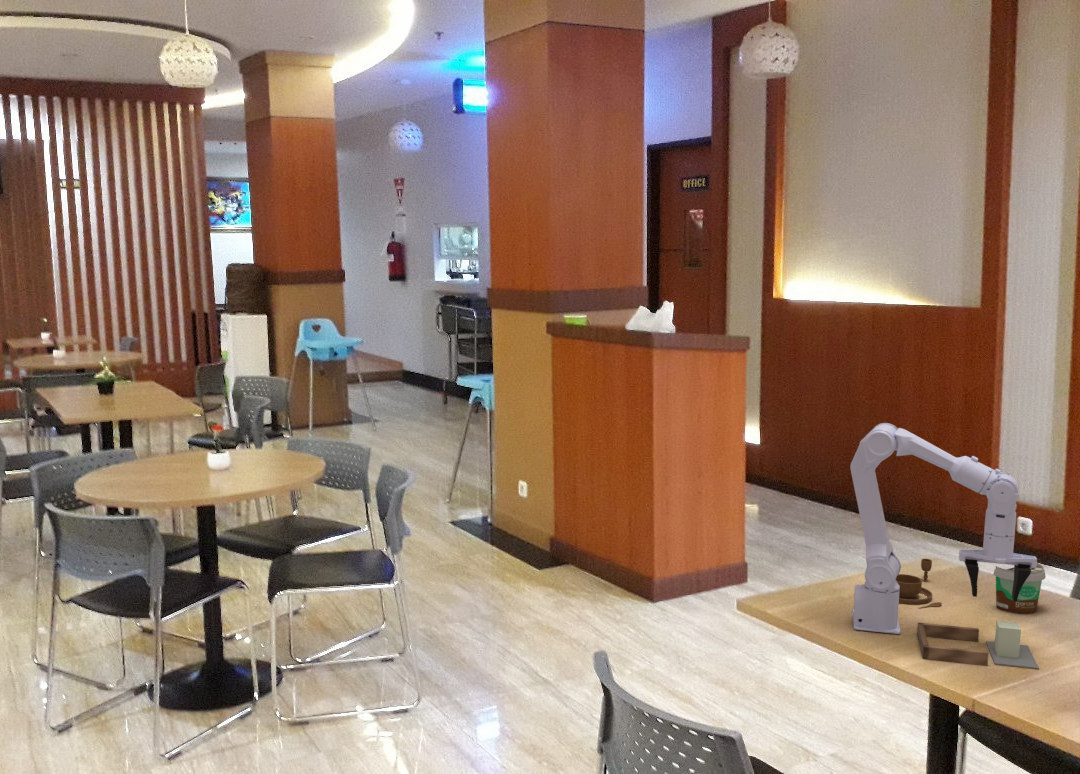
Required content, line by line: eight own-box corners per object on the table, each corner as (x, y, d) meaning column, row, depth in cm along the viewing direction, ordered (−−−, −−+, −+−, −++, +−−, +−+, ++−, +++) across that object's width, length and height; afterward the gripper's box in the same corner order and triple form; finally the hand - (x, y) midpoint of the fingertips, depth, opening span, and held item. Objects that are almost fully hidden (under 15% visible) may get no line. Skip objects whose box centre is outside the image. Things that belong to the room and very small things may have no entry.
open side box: (923, 658, 206) (923, 646, 205) (917, 633, 219) (917, 622, 219) (987, 665, 202) (988, 653, 202) (977, 639, 216) (978, 628, 216)
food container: (1009, 617, 229) (1012, 574, 228) (990, 608, 235) (993, 566, 234) (1055, 613, 232) (1058, 570, 231) (1035, 604, 238) (1038, 562, 237)
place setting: (859, 589, 249) (860, 566, 248) (923, 580, 256) (925, 557, 255) (911, 613, 233) (912, 588, 232) (978, 602, 240) (979, 578, 239)
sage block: (997, 656, 207) (999, 627, 206) (994, 648, 210) (996, 620, 210) (1018, 658, 206) (1020, 629, 205) (1015, 650, 209) (1017, 622, 209)
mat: (994, 664, 203) (995, 663, 203) (985, 642, 215) (986, 641, 214) (1039, 669, 201) (1039, 667, 201) (1027, 646, 212) (1027, 645, 212)
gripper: (963, 535, 208) (958, 599, 210) (1041, 542, 204) (1036, 607, 206) (959, 526, 215) (955, 588, 217) (1035, 532, 211) (1030, 596, 213)
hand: (994, 597), depth 212 cm, fingers open, 7 cm apart
